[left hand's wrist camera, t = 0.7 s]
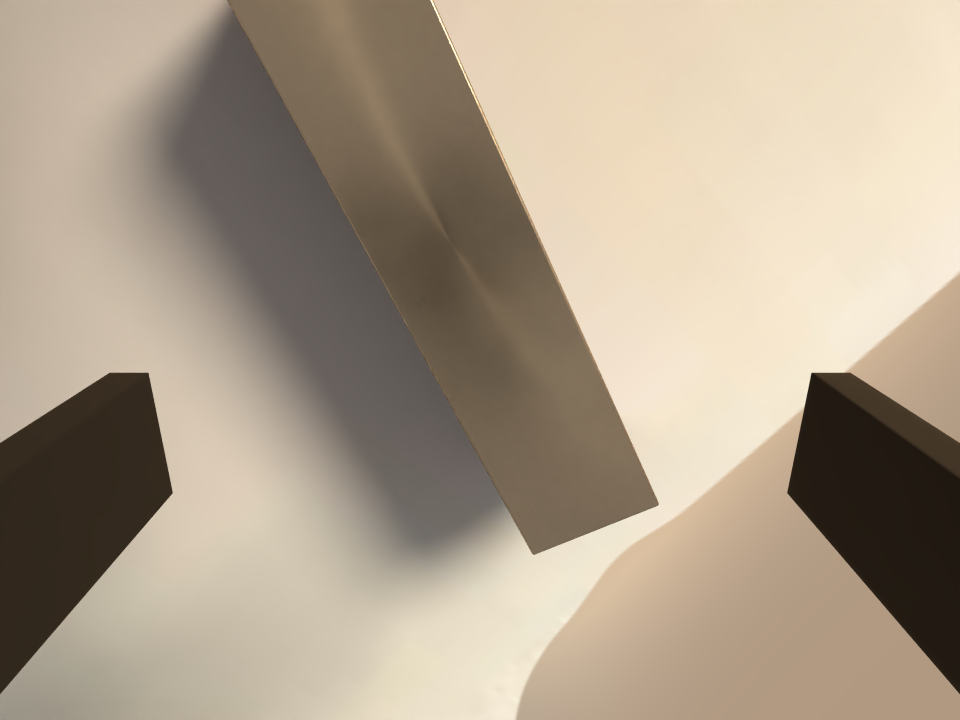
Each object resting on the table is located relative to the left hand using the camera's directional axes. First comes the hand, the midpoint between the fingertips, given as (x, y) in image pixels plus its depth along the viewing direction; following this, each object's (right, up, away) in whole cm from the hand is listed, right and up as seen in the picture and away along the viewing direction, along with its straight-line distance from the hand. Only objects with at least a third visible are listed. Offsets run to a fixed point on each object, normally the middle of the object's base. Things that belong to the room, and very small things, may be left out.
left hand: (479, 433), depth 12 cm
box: (-1, +9, +18) cm, 20 cm away
